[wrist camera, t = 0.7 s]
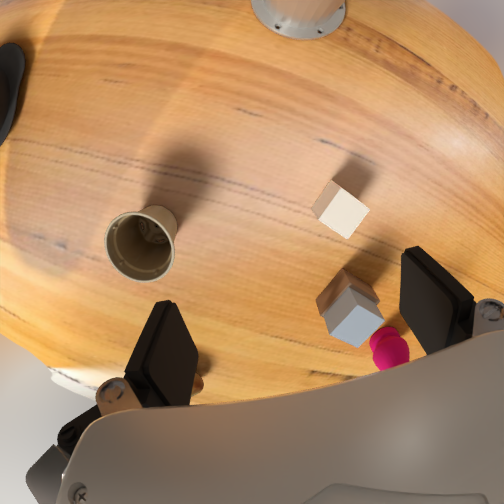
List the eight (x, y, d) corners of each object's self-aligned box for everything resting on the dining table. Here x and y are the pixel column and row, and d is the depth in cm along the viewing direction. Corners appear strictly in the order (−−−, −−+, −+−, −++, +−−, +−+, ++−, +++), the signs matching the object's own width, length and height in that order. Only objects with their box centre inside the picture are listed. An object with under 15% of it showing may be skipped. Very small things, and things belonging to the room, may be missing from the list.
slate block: (348, 286, 40) (357, 304, 36) (374, 302, 41) (384, 320, 37) (323, 315, 42) (329, 334, 38) (350, 329, 43) (357, 347, 39)
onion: (210, 381, 55) (206, 412, 48) (176, 384, 56) (169, 412, 49) (198, 358, 52) (192, 390, 45) (162, 361, 53) (153, 391, 46)
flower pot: (166, 181, 38) (145, 197, 30) (200, 236, 41) (189, 264, 33) (118, 213, 40) (91, 235, 32) (151, 262, 43) (133, 293, 35)
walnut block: (341, 267, 44) (349, 282, 40) (371, 286, 45) (380, 301, 41) (315, 299, 46) (320, 315, 42) (345, 315, 48) (351, 331, 44)
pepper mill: (399, 319, 48) (443, 398, 30) (398, 344, 51) (435, 419, 33) (365, 331, 49) (401, 416, 31) (367, 355, 52) (397, 435, 34)
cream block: (330, 179, 38) (341, 187, 33) (357, 198, 39) (370, 209, 34) (310, 208, 39) (318, 219, 35) (337, 226, 41) (347, 239, 36)
